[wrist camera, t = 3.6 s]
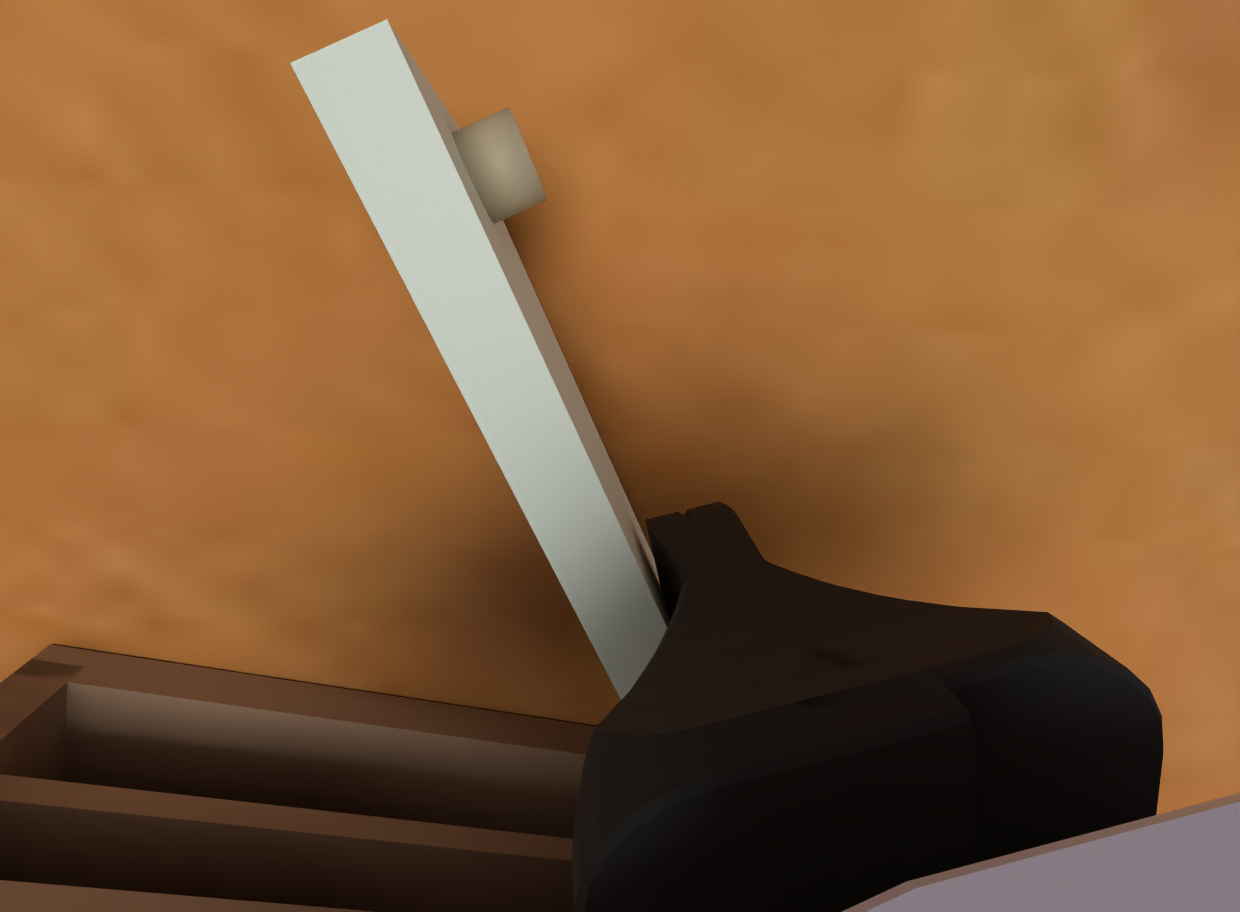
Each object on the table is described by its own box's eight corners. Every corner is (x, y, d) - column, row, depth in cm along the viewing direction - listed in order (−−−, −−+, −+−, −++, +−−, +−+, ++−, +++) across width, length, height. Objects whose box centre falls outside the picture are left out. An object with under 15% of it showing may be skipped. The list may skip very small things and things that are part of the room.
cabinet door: (691, 737, 16) (762, 974, 10) (415, 158, 11) (290, 63, 6) (755, 709, 16) (858, 934, 10) (505, 117, 11) (464, -16, 6)
